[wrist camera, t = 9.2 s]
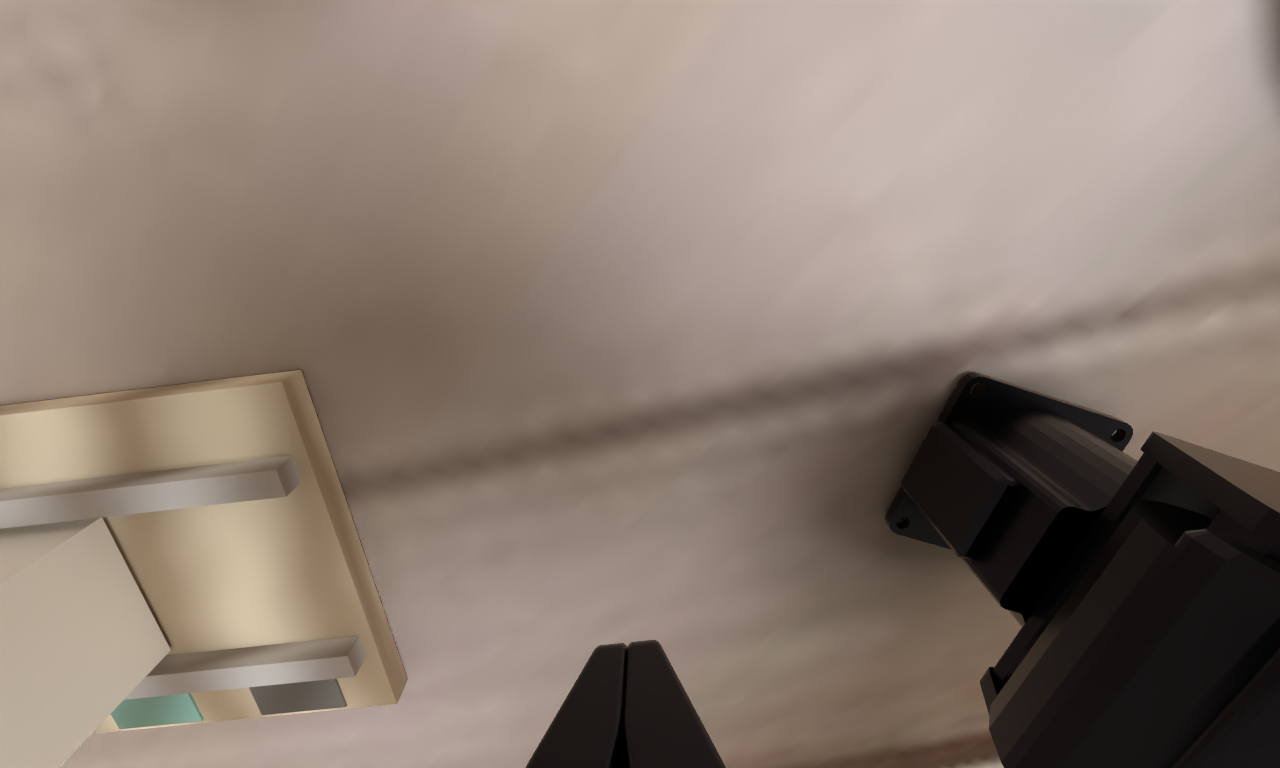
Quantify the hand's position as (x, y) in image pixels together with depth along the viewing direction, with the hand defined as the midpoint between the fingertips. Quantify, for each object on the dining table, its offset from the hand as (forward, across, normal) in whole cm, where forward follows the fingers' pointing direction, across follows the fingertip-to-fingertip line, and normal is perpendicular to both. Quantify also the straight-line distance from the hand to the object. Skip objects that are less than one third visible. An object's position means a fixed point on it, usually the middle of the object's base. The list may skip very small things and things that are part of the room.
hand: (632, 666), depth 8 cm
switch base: (+13, +18, +6) cm, 23 cm away
